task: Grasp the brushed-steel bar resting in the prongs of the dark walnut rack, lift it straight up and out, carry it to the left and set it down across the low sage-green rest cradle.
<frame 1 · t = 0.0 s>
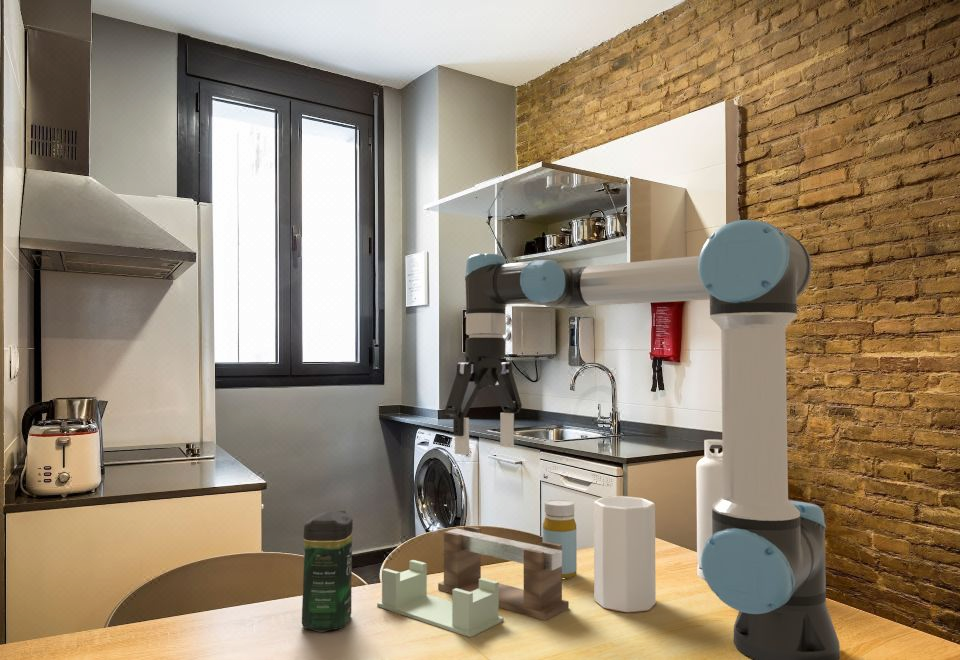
hand: (485, 450, 129), 28 cm above the table, fingers open, 13 cm apart
cup: (624, 603, 128), on the table
bottle 2: (717, 577, 143), on the table
coffee jar: (327, 623, 118), on the table
rest: (438, 613, 122), on the table
rack: (500, 598, 129), on the table
rail: (500, 555, 130), point 8 cm above the table, touching rack
bottle: (559, 575, 144), on the table
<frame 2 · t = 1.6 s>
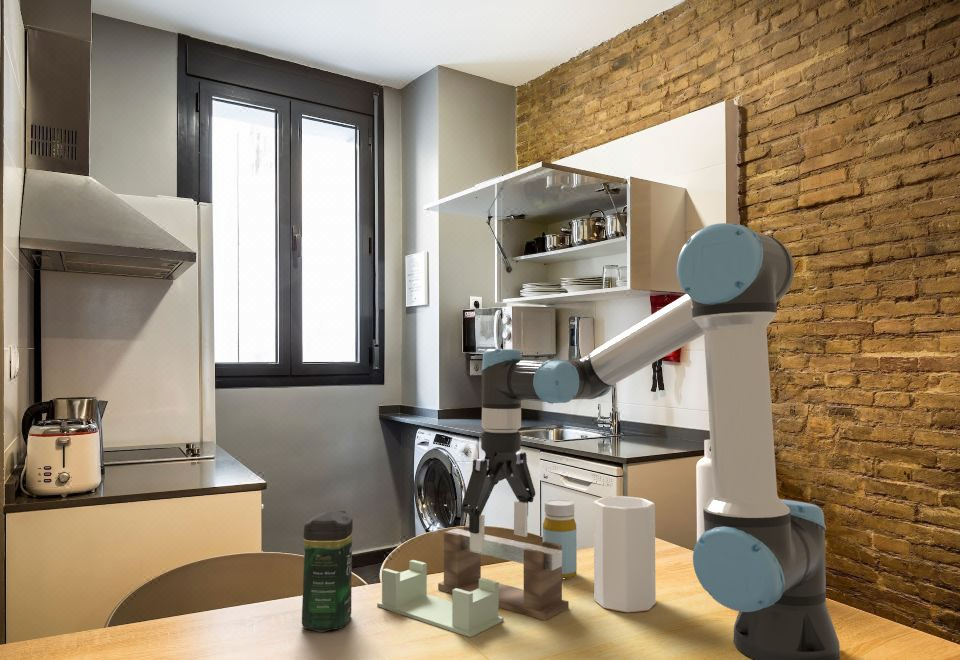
hand: (499, 542, 130), 10 cm above the table, fingers open, 13 cm apart
nothing on the table moved.
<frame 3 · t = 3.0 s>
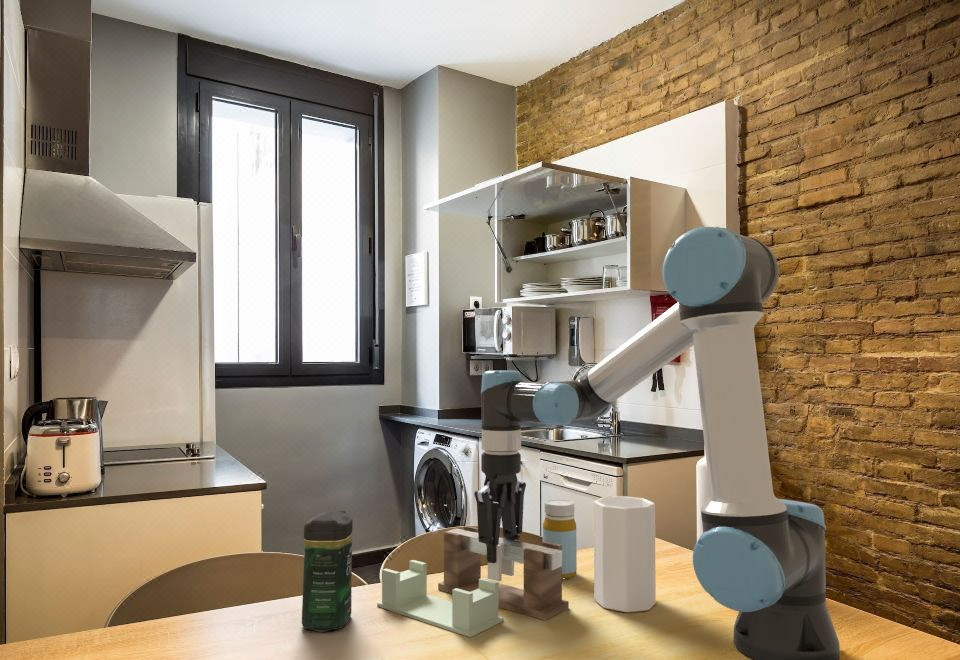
hand: (500, 576, 130), 4 cm above the table, fingers closed on rail, 3 cm apart
rail: (500, 555, 130), point 8 cm above the table, touching gripper, rack
everything else where it was.
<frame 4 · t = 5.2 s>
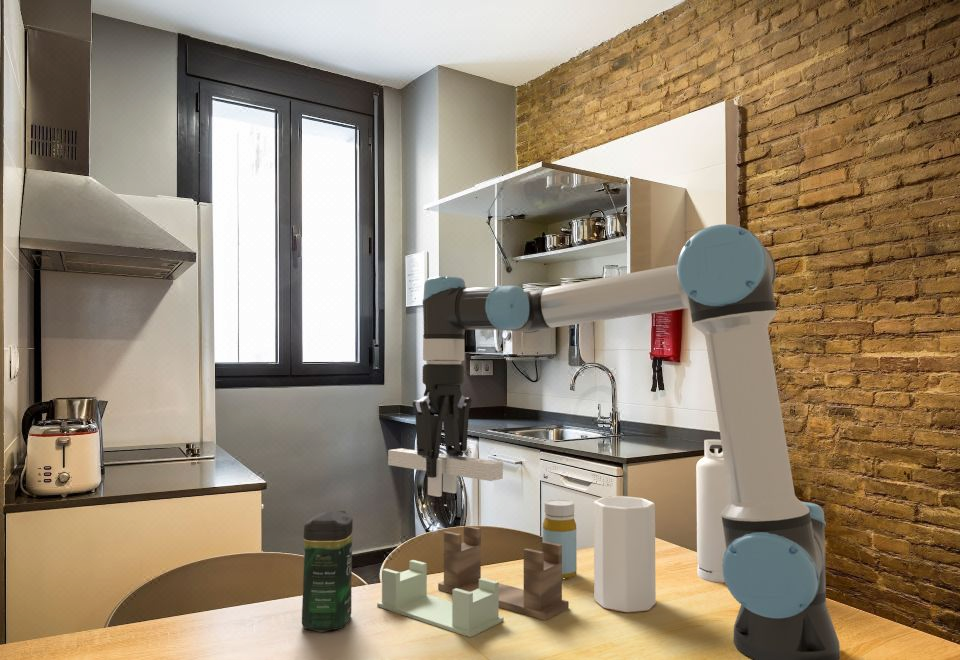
hand: (442, 493, 123), 21 cm above the table, fingers closed on rail, 3 cm apart
rail: (442, 471, 124), point 25 cm above the table, touching gripper
everything else where it was.
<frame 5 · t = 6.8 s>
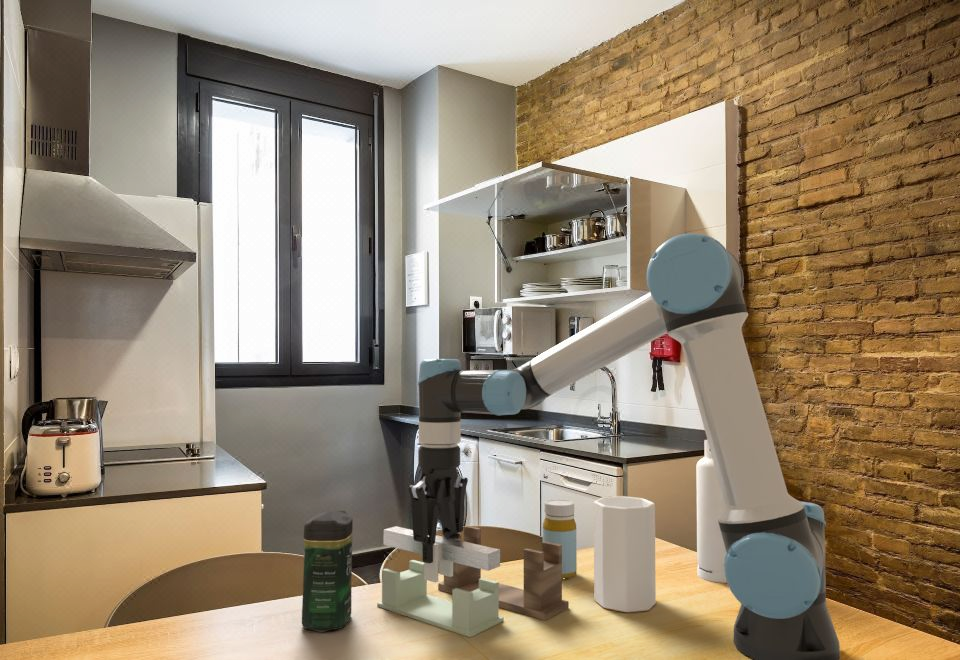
hand: (438, 577, 122), 6 cm above the table, fingers closed on rail, 3 cm apart
rail: (438, 554, 122), point 10 cm above the table, touching gripper
everything else where it was.
when the fingers open (2 cm above the table, at t = 7.8 s): rail stays where it is, resting on rest.
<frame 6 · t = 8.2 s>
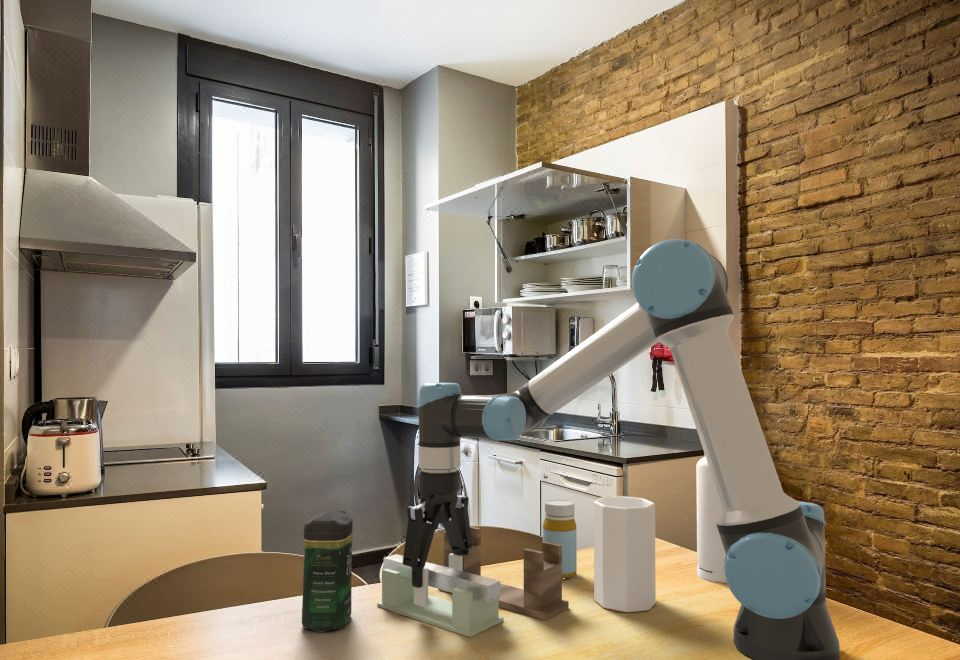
hand: (438, 597, 122), 3 cm above the table, fingers open, 8 cm apart
rail: (438, 584, 122), point 5 cm above the table, touching rest
everything else where it was.
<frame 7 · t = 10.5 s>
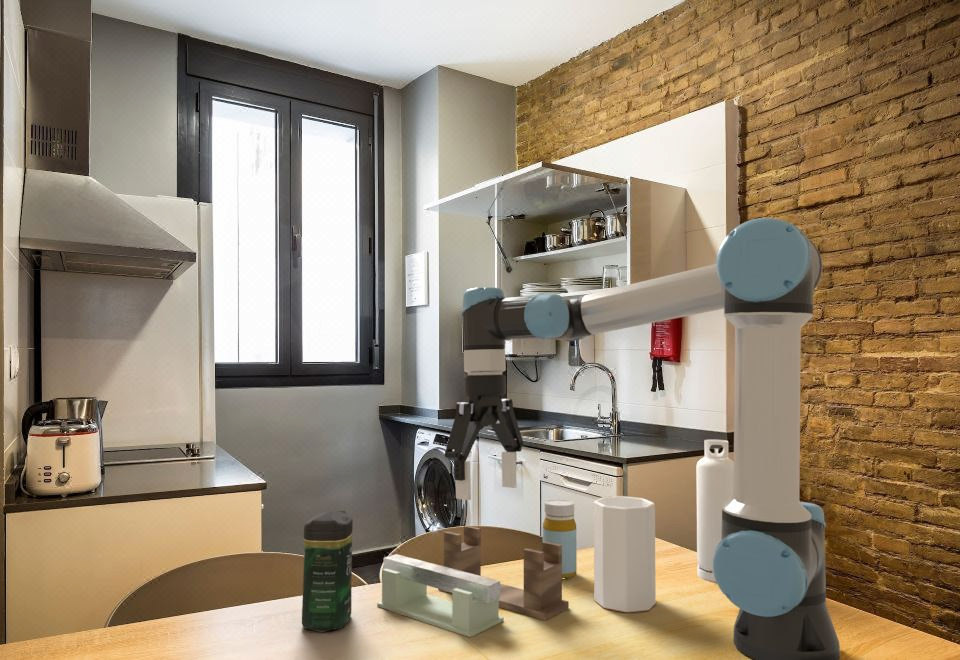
hand: (487, 493, 123), 21 cm above the table, fingers open, 13 cm apart
nothing on the table moved.
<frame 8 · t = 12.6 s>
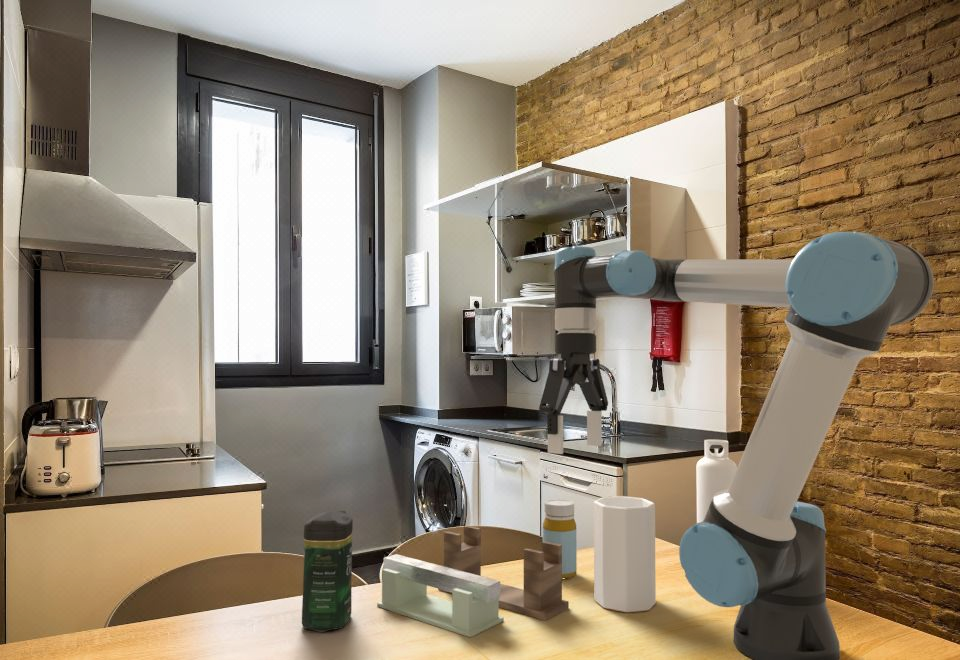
hand: (575, 449, 125), 29 cm above the table, fingers open, 13 cm apart
nothing on the table moved.
at the end: rail 0.0 cm off-centre on the rest, point 5.0 cm above the rest's base; rail touching rest; the gripper is holding nothing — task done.
